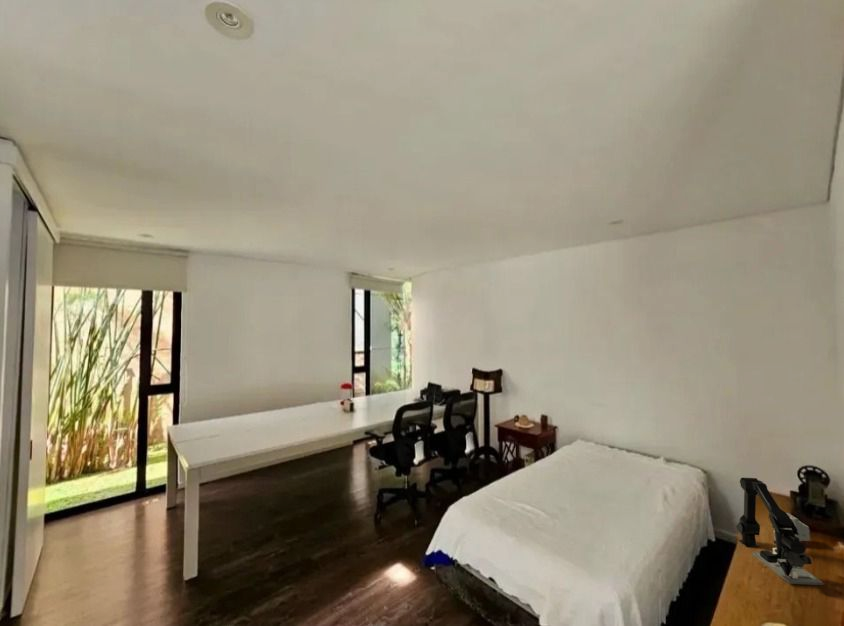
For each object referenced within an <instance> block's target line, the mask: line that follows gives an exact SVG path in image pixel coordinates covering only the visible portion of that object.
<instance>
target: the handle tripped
mask: <svg viewBox="0 0 844 626" xmlns="http://www.w3.org/2000/svg"><path fill="white" fill-rule="evenodd" d="M789 575H790V576H791V577H792V578H795V579H798V574H797V571H796V570H794V569H792V570H791V572H790V574H789Z"/></svg>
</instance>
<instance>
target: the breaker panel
mask: <svg viewBox="0 0 844 626" xmlns="http://www.w3.org/2000/svg"><path fill="white" fill-rule="evenodd" d="M770 552H771V551H770ZM771 553H773V551H772V552H771ZM751 554H752V555H753V556H754V557H755V558H756V559H757V560H759V561H760V562H761V563H762V564H764V565H765V566H766V567H768V568H769V569H770V570H771V571H773V572H774V573H776V575H778V576H779V577H780V578H782V579H783V580H784V581H786V583H788V584H789V585H791V584H792V585H793V584H794V585H811V586H812V585H813V586H814V585H815V586H824V584H823V581H821V580H820V579H819V578H817V577H816V576H815V575H813V574H812V573H810V572H809V571H807V570H806V569H804V568H803V567H793V568H792V569H794V570H796V571H797V574H798V579H795V578H792V577H791V576H790V575H789V576H787V575H785V573H784V571H783V569H782V568H781V566H780V564H779V563H778V562H777V563H770V562H767V561H766V560H765V559H764V558H762V557H761V556H760V551H751Z"/></svg>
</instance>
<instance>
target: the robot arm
mask: <svg viewBox="0 0 844 626" xmlns="http://www.w3.org/2000/svg"><path fill="white" fill-rule="evenodd" d="M739 484H740V488H742V490H743V492H744V494H743V495H744V496H743V514H742V516H740V517H739V521H738V523H737V524H736V525H735V527H736V530H737V532H738V533H739V534H740V535H741V539H738V541H739V542H740V543H741V544H742V545H744V546H745V547H748V548H760V545H758V544H757V539H756V536H760V532H761V525H760V523H759V522H758V521H757V519H756V511H757V510H756V509H757V507H756V506H757V495H758V496H759V498H760V500H761V502H762V503H763V505H764V506H765V508H766V510H767V511H768V513H769V514H768V518H769V521H770V524H771V525H772V526H771V527H772V528H773V529H774V531H775V537H774V538H775V539H776V540H775V539H774V540H773V544H775V548H776V549H775V552H776V553H777V554H773V553H771V551H770V550H760V551H759V552H760V556H761V557H762V558H764V559H765V560H766V561H767V562H770V563H777V562H778V563H779V564H780V566H781V568H782V569H783V571H784V573H785V575H787V576H789V574H790V572H791V570H792V568H793V567H802V568H803V567H804V565H812V564H813V561H812V558H811V557H810V556H808V555H807V554H806V553H805V552H806V549H807V548H806V544H804V543H803V542H802V540H801V541H800V540H799V538H798V537H796V536H795V535H799V534H798V532H797V531H798V530H797V528H796V526H795V524H794V523H793V521H792V519H791V518H790V517H789V516H788V515H787V513H788V512H786V511H784V510H783V509H781V508H780V506H779V505H778V503H777V501H776V500H775V498H774V497H773V496H772V494H771V492H770V491H769V489H768V486H767V484H766V483H765V482H764V481H762V480H759V479H758V478H756V477H741V478H740V479H739ZM785 528H789V529H792V530H787V529H785Z"/></svg>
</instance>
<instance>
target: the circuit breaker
mask: <svg viewBox="0 0 844 626" xmlns="http://www.w3.org/2000/svg"><path fill="white" fill-rule="evenodd" d="M786 513H787V515H788V516H789V517H790V518H791V519H792V521H793V523H794V524H795V526H796V528H797V530H798V531H797V532H798V534H799V535H795V536H796V537H798V538H799V540H800V541H801V542H802V541H804V542H805V541H807V542H809V541H811V537H810V536H811V535H810V533H811V530H810V528H809V526H808V525H806V524H805V523H803V522H802V521H800V520H799V518H797V517H795V516H794V515H792V514H791V513H790V512H786ZM785 529H787V530H792V529H789V528H785ZM773 537H774V541H776V539H775V530H773Z"/></svg>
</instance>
